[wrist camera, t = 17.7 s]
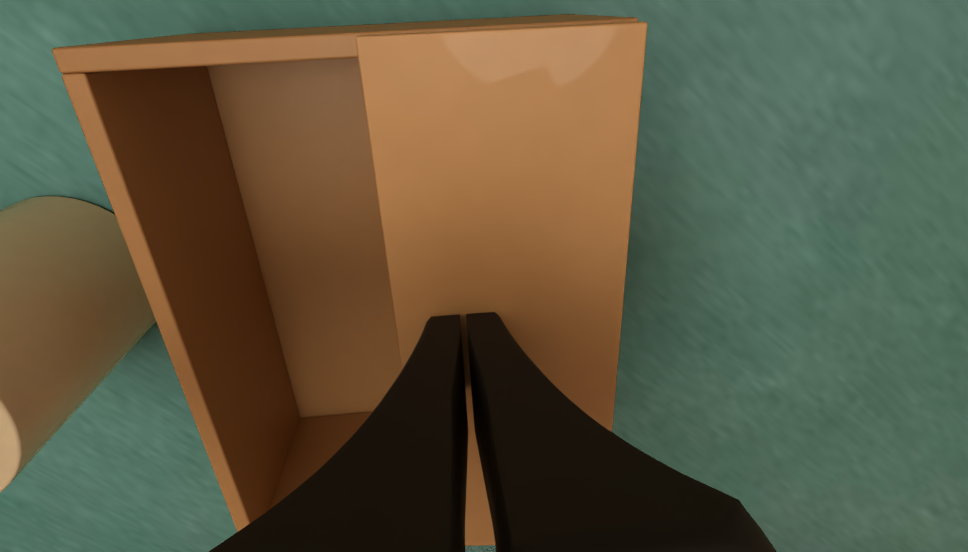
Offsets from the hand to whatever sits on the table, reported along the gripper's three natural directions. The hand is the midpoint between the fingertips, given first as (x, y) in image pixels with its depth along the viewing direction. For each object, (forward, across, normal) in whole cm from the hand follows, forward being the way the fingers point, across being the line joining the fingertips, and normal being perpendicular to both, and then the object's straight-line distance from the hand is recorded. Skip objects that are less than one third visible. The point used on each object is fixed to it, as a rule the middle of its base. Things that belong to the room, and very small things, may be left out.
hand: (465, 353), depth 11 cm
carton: (+6, +2, 0) cm, 6 cm away
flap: (0, -1, 0) cm, 1 cm away
